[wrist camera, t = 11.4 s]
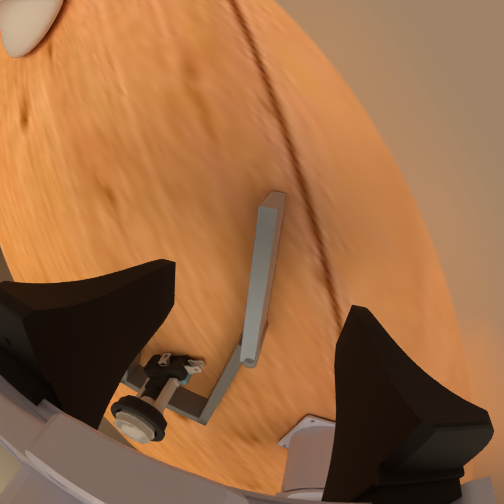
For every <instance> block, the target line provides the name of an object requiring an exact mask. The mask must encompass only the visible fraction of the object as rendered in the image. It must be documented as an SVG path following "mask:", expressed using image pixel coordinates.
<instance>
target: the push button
mask: <svg viewBox="0 0 504 504" xmlns="http://www.w3.org/2000/svg"><path fill="white" fill-rule="evenodd" d="M166 355H168V356H167V357H164V356H166ZM170 356H171V353H165V354H163V355H162V357H160V356H159V355H154V356H152V358H151V359H150V360H149V362H148V363H147V365H146V366H145V367H144V369H143V371H144V372H145V373H146V375H147V376H148V378H147V379H146V382H145V384H144V385H143V386H142V388H141V389H140V391H139V392H138V394H137V395H136V396H131V395H128V396H125V397H121V398H120V399H119V401H118V402H115V403H113V405H112V406H111V412H112V414H113V416H114V418H115V421H114V424H115V426H116V427H117V428H118V430H120V431H121V432H122V433H123V434H124V435H125V436H127V437H129V438H130V439H132V440H134V441H136V442H139V443H142V444H148V443H149V442H150V441H161V440H163V438H164V436H165V432H164V430H165V428H166V426H167V422H166V420H165V418H164V417H163V411H164V409H165V407H166V406H167V404H168V402H169V400H170V399H171V397H172V395H173V394H174V392H175V391H176V389H177V387H179V385H185V384H187V383H188V381H189V379H190V377H191V375H192V374H194V373H200V372H202V370H201V368H200V367H203V366H205V364H204V362H203V361H202V360H198V361H193V360H190V359H189V357H188V356H174V357H170ZM198 362H200V363H201V365H199V364H198ZM195 368H197V369H198V371H196V370H195Z"/></svg>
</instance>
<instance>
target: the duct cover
mask: <svg viewBox="0 0 504 504" xmlns="http://www.w3.org/2000/svg"><path fill="white" fill-rule="evenodd" d="M285 200H286V193H281V192H275V191H272V192H271V193H270V194H269V195H268V196H267V197H266V199H265V200H264V201H263V202H262V203H261V204H260V205H259V207H258V216H257V224H256V232H255V240H254V249H253V257H252V265H251V273H250V281H249V290H248V298H247V306H246V314H245V322H244V331H243V339H242V347H241V355H240V361H241V362H242V363H243V365H244V366H245V367H247V368H254V367H256V364H257V361H258V358H259V354H260V351H261V348H262V344H263V341H264V337H265V334H266V330H267V327H268V322H267V321H266V320H267V314H268V308H269V302H270V296H271V290H272V284H273V278H274V272H275V265H276V259H277V253H278V246H279V240H280V233H281V227H282V220H283V213H284V207H285Z"/></svg>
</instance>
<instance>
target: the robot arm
mask: <svg viewBox="0 0 504 504" xmlns="http://www.w3.org/2000/svg"><path fill="white" fill-rule="evenodd" d="M175 266H176V262H173V261H169V260H165V259H159V260H154V261H151V262H147V263H144V264H141V265H138V266H134V267H131V268H128V269H125V270H122V271H118V272H114V273H111V274H107V275H103V276H99V277H95V278H90V279H85V280H79V281H71V282H61V283H20V282H10V281H3V282H1V283H0V443H1V444H2V445H3V446H4V447H5V448H6V449H7V450H8V451H9V452H10V453H11V454H12V455H13V456H14V457H15V458H16V459H17V460H18V461H19V462H20V463H21V464H22V466H21V467H20V468H19V470H18V471H17V472H16V474H15V475H14V476H13V478H12V479H11V481H10V482H9V483H8V485H7V486H6V487H5V489H4V490H3V491H2V493H1V494H0V504H496V500H495V495H494V490H493V485H492V480H491V477H490V476H488V477H485V478H481V479H477V480H473V481H469V482H467V483H464V484H462V485H460V479H459V478H461V477H463V476H464V468H463V466H464V465H465V464H466V463H468V462H469V461H470V460H471V459H472V458H474V457H475V456H476V455H477V454H478V453H479V452H480V451H482V450H483V449H484V447H485V446H486V445H487V444H488V443H489V441H490V440H491V438H492V436H493V433H494V429H493V426H492V423H491V420H490V417H489V415H488V412H487V411H486V410H484V409H482V408H480V407H478V406H476V405H474V404H472V403H470V402H468V401H466V400H464V399H462V398H461V397H459V396H458V395H456V394H454V393H453V392H451V391H450V390H448V389H447V388H445V387H444V386H442V385H441V384H440V383H438V382H437V381H436V380H434V379H433V378H432V377H430V376H429V375H428V374H427V373H426V372H424V371H423V370H422V369H421V368H420V367H419V366H418V365H417V364H416V363H415V362H413V361H412V360H411V359H410V358H409V357H408V356H407V354H406V353H405V352H404V351H403V350H402V349H401V348H400V347H399V346H398V345H397V343H396V342H395V341H394V340H393V339H392V338H391V336H390V335H389V334H388V333H387V332H386V330H385V329H384V328H383V327H382V325H381V324H380V323H379V322H378V320H377V319H376V318H375V317H374V315H373V314H372V313H371V312H370V311H369V310H368V309H367V308H365V307H361V306H356V305H352V306H351V309H350V312H349V314H348V317H347V319H346V322H345V324H344V327H343V329H342V331H341V334H340V336H339V339H338V341H337V343H336V351H335V363H334V370H335V392H336V423H335V422H332V421H328V420H325V419H321V418H318V417H315V416H311V415H307V416H305V417H304V418H303V419H302V420H301V421H300V422H299V423H298V424H297V425H296V426H295V427H294V428H293V429H292V430H291V431H290V432H288V433H287V434H286V435H285V436H284V437H283V438H282V439H281V440H280V441H279V442H278V445H279V446H281V447H285V448H288V449H289V450H288V456H287V461H286V467H285V472H284V478H283V483H282V488H281V493H276V496H272V495H267V494H261V493H256V492H251V491H247V490H242V489H238V488H234V487H230V486H226V485H223V484H221V483H218V482H215V481H212V480H210V479H207V478H205V477H202V476H200V475H197V474H194V473H191V472H188V471H185V470H182V469H179V468H177V467H174V466H171V465H169V464H166V463H164V462H161V461H159V460H156V459H154V458H152V457H149V456H147V455H145V454H142V453H140V452H138V451H136V450H134V449H131V448H129V447H127V446H125V445H123V444H121V443H119V442H117V441H115V440H114V439H112V438H110V437H108V436H106V435H104V434H102V433H101V432H99V431H97V430H98V427H99V425H100V422H101V420H102V417H103V415H104V413H105V411H106V409H107V407H108V404H109V402H110V400H111V398H112V396H113V394H114V393H115V391H116V389H117V387H118V385H119V383H120V381H121V380H122V378H123V376H124V375H125V373H126V371H127V370H128V368H129V366H130V365H131V363H132V362H133V360H134V359H135V357H136V356H137V355H138V354H139V352H140V351H141V350H142V349H143V347H144V346H145V345H146V344H147V342H148V341H149V340H150V339H151V337H152V336H153V335H154V334H155V332H156V331H157V330H158V329H159V327H160V326H161V325H162V324H163V322H164V321H165V319H166V317H167V316H168V314H169V312H170V311H171V309H172V307H173V305H174V296H175Z"/></svg>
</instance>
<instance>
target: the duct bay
mask: <svg viewBox="0 0 504 504" xmlns="http://www.w3.org/2000/svg"><path fill="white" fill-rule="evenodd" d="M243 331H244V329H243ZM243 331H242V333H241V335H240V337H239V339H238V341H237V343H236V345H235V347H234V349H233V351H232V353H231V355H230V357H229V359H228V361H227V363H226V365H225V367H224V369H223V371H222V373H221V375H220V376H219V378H218V380H217V382H216V384H215V386H214V388H213V390H212V392H211V394H210V396H209V398H208V399H205V398H203V397H201V396H199V395H197V394H194V393H192V392H190V391H188V390H186V389H184V388H182V387H180V386H179V387H177V389H176V391H175V392H174V394H173V395H172V397H171V399H170V400H169V402H168V404H167V406H166V408H168V409H170V410H172V411H174V412H176V413H178V414H180V415H182V416H185V417H187V418H189V419H191V420H193V421H196V422H198V423H200V424H202V425H205V426H206V424H207V422H208V421H209V419H210V417H211V416H212V414H213V412H214V411H215V409H216V407H217V406H218V404H219V402H220V401H221V399H222V397H223V395H224V394H225V392H226V390H227V389H228V387H229V385H230V384H231V382H232V380H233V378H234V377H235V375H236V373H237V371H238V370H239V368H240V366H241V364H242V362H241V361H240V355H241V347H242V339H243ZM140 354H141V351H140V352H139V354H138V355H137V356H136V357H135V359H134V360H133V362H132V363H131V365H130V366H129V368H128V370H127V371H126V373H125V375H124V376H123V378H122V380H121V381H120V382H121V383H123V384H124V385H126V386H128V387H129V388H131V389H133V390H135V391H136V392H139V391H140V389H141V388H142V386H143V385H144V384H145V382H146V379H147V378H148V376H147V375H146V373H145V372H144V371H143V369H144V367H142V366H140V365H139V360H140Z"/></svg>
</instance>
